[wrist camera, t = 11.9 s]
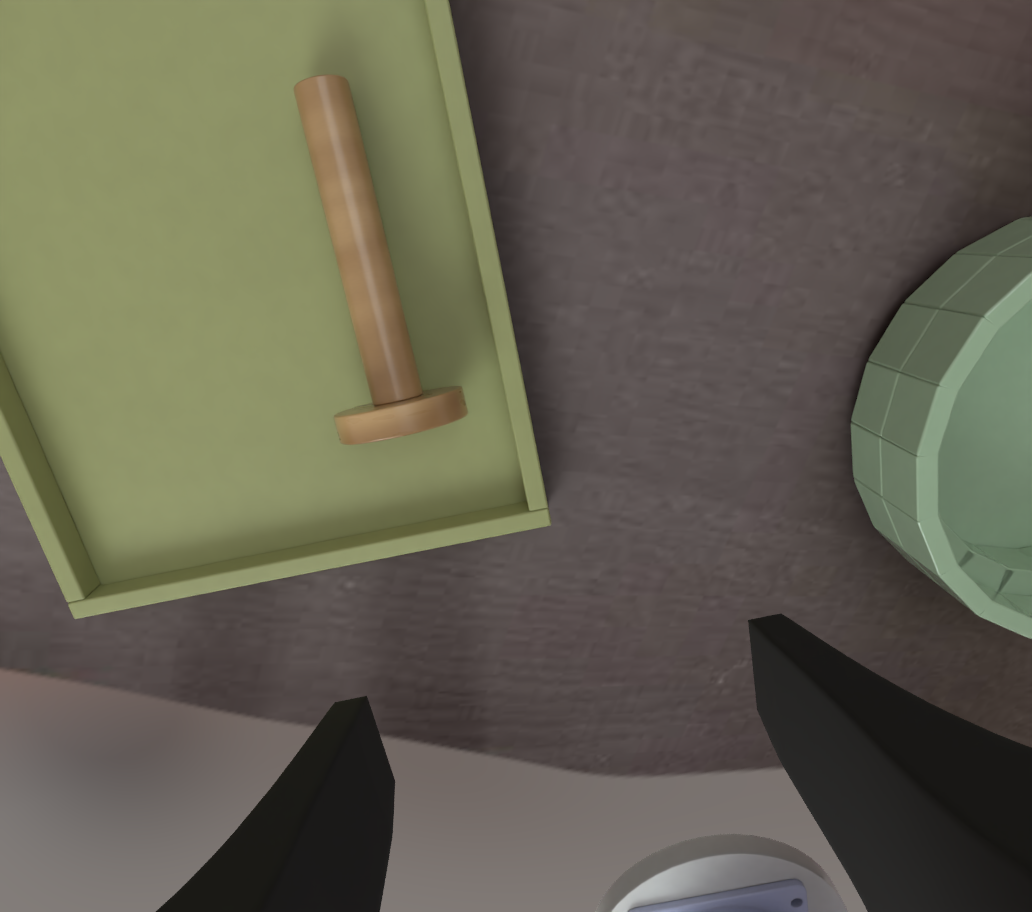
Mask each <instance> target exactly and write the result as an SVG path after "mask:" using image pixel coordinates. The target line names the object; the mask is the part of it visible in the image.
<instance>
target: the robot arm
mask: <svg viewBox="0 0 1032 912" xmlns="http://www.w3.org/2000/svg"><path fill="white" fill-rule="evenodd" d="M748 623H749V633H750V643H751V652H752V662H753V672H754V682H755V692H756V702H757V710H758V712H759V715H760V717H761V719H762V722H763V724H764V726H765V729H766V731H767V733H768V735H769V738H770V740H771V742H772V744H773V747H774V749H775V751H776V753H777V755H778V757H779V760H780V761H781V763H782V765H783V767H784V768H785V770H786V772H787V773H788V775H789V777H790V779H791V780H792V782H793V783H794V785H795V787H796V789H797V790H798V792H799V794H800V795H801V797H802V799H803V800H804V802H805V804H806V805H807V807H808V809H809V810H810V812H811V814H812V815H813V817H814V819H815V820H816V822H817V824H818V825H819V827H820V829H821V830H822V832H823V834H824V835H825V837H826V839H827V840H828V842H829V844H830V845H831V847H832V849H833V850H834V852H835V854H836V855H837V857H838V859H839V860H840V862H841V864H842V865H843V867H844V869H845V870H846V872H847V874H848V875H849V877H850V879H851V881H852V883H853V884H854V886H855V888H856V890H857V892H858V894H859V896H860V897H861V899H862V901H863V903H864V905H865V906H866V909H867V911H868V912H1032V748H1031V747H1028V746H1025V745H1023V744H1020V743H1017V742H1015V741H1012V740H1010V739H1007V738H1005V737H1002V736H1000V735H998V734H995V733H993V732H990V731H988V730H986V729H984V728H982V727H979V726H977V725H975V724H973V723H970V722H968V721H966V720H964V719H962V718H959V717H957V716H955V715H953V714H951V713H948V712H946V711H944V710H942V709H940V708H938V707H936V706H934V705H932V704H930V703H928V702H926V701H925V700H923V699H921V698H919V697H917V696H915V695H913V694H911V693H910V692H908V691H906V690H904V689H902V688H900V687H898V686H897V685H895V684H893V683H891V682H889V681H888V680H886V679H884V678H882V677H881V676H879V675H877V674H875V673H874V672H872V671H870V670H869V669H867V668H865V667H864V666H862V665H860V664H859V663H857V662H856V661H854V660H852V659H851V658H849V657H847V656H846V655H844V654H843V653H841V652H839V651H838V650H836V649H835V648H833V647H832V646H830V645H829V644H827V643H825V642H824V641H822V640H821V639H819V638H818V637H816V636H815V635H813V634H812V633H810V632H809V631H807V630H806V629H804V628H803V627H801V626H800V625H798V624H796V623H795V622H793V621H792V620H790V619H789V618H787V617H786V616H784V615H782V614H777V615H771V616H766V617H761V618H756V619H751V620H748ZM394 790H395V780H394V776H393V773H392V771H391V768H390V764H389V762H388V759H387V755H386V752H385V749H384V746H383V744H382V740H381V737H380V734H379V731H378V728H377V725H376V722H375V719H374V716H373V713H372V710H371V707H370V704H369V701H368V698H367V696H365V697H360V698H355V699H350V700H345V701H340V702H335V703H334V704H333V706H332V707H331V708H330V710H329V711H328V712H327V714H326V715H325V716H324V718H323V719H322V720H321V722H320V723H319V724H318V726H317V727H316V729H315V730H314V731H313V733H312V734H311V736H310V737H309V738H308V740H307V741H306V742H305V744H304V745H303V746H302V748H301V749H300V751H299V752H298V753H297V754H296V756H295V757H294V758H293V760H292V761H291V762H290V764H289V765H288V766H287V768H286V769H285V770H284V772H283V773H282V774H281V776H280V777H279V778H278V780H277V781H276V782H275V784H274V785H273V786H272V787H271V789H270V790H269V791H268V792H267V794H266V795H265V796H264V797H263V798H262V799H261V801H260V802H259V803H258V804H257V806H256V807H255V808H254V809H253V810H252V811H251V813H250V814H249V815H248V816H247V817H246V819H245V820H244V821H243V822H242V824H241V825H240V826H239V827H238V829H237V830H236V831H235V832H234V833H233V834H232V835H231V836H230V838H229V839H228V840H227V841H226V842H225V843H224V844H223V845H222V847H221V848H220V849H219V850H218V851H217V852H216V853H215V854H214V855H213V856H212V858H210V859H209V860H208V862H207V863H205V865H204V866H203V867H202V868H201V869H200V870H199V871H198V872H197V873H196V874H195V875H194V876H193V877H192V878H191V879H190V880H189V881H188V882H187V883H186V884H185V885H184V886H183V887H182V888H181V889H180V890H179V891H178V892H177V893H176V894H175V895H174V896H173V897H172V898H170V899H169V900H168V901H167V902H166V903H165V904H164V905H163V906H162V907H161V908H159V909H158V910H157V911H156V912H380V906H381V901H382V895H383V889H384V883H385V878H386V871H387V865H388V860H389V853H390V846H391V841H392V833H393V816H394V792H395V791H394ZM628 912H808V901H807V891H806V888H805V886H804V884H803V882H802V881H800V880H798V879H788V880H783V881H778V882H772V883H767V884H761V885H756V886H750V887H745V888H739V889H734V890H729V891H723V892H718V893H712V894H707V895H701V896H696V897H690V898H685V899H679V900H674V901H669V902H663V903H658V904H652V905H647V906H641V907H636V908H633V909H631V910H630V911H628Z"/></svg>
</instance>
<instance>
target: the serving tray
mask: <svg viewBox="0 0 1032 912" xmlns="http://www.w3.org/2000/svg"><path fill="white" fill-rule="evenodd" d="M328 74H329V75H339V76H342V77H345V78H346V79H347V80H348V82H349V85H350V89H351V94H352V98H353V102H354V106H355V110H356V115H357V119H358V123H359V127H360V131H361V136H362V140H363V144H364V148H365V152H366V156H367V161H368V165H369V169H370V173H371V177H372V182H373V186H374V190H375V194H376V198H377V203H378V207H379V211H380V215H381V219H382V223H383V228H384V232H385V236H386V240H387V244H388V249H389V253H390V257H391V261H392V265H393V269H394V274H395V278H396V282H397V286H398V290H399V295H400V299H401V303H402V307H403V311H404V316H405V320H406V324H407V328H408V332H409V336H410V341H411V345H412V349H413V353H414V357H415V362H416V366H417V370H418V374H419V378H420V383H421V387H422V391H425V390H430V389H436V388H442V387H449V386H461V387H462V388H463V392H464V396H465V400H466V405H467V409H468V414H467V415H466V416H465V417H464V418H462V419H460V420H457V421H455V422H452V423H449V424H446V425H443V426H440V427H437V428H434V429H430V430H426V431H423V432H419V433H415V434H411V435H407V436H402V437H398V438H393V439H389V440H383V441H378V442H372V443H365V444H357V445H344V444H341V443H340V440H339V437H338V433H337V429H336V425H335V421H334V415H335V414H337V413H339V412H342V411H344V410H347V409H351V408H354V407H357V406H361V405H364V404H368V403H372V399H371V395H370V391H369V387H368V383H367V379H366V375H365V371H364V367H363V363H362V359H361V355H360V351H359V348H358V344H357V340H356V336H355V332H354V328H353V324H352V320H351V316H350V312H349V308H348V304H347V300H346V296H345V292H344V288H343V284H342V280H341V276H340V272H339V268H338V265H337V261H336V257H335V253H334V249H333V245H332V241H331V237H330V233H329V229H328V225H327V221H326V217H325V213H324V209H323V205H322V201H321V197H320V193H319V189H318V185H317V181H316V178H315V174H314V170H313V166H312V162H311V158H310V154H309V150H308V146H307V142H306V138H305V134H304V130H303V126H302V122H301V118H300V114H299V110H298V106H297V102H296V98H295V95H294V86H295V85H296V84H297V83H298V82H300V81H302V80H304V79H306V78H309V77H313V76H317V75H328ZM0 456H1V458H2V460H3V462H4V465H5V467H6V469H7V471H8V474H9V476H10V478H11V480H12V482H13V485H14V487H15V489H16V491H17V493H18V496H19V498H20V500H21V502H22V504H23V507H24V509H25V511H26V513H27V515H28V518H29V520H30V522H31V524H32V526H33V529H34V531H35V533H36V535H37V537H38V540H39V542H40V544H41V546H42V548H43V551H44V553H45V555H46V557H47V559H48V562H49V564H50V566H51V568H52V570H53V573H54V575H55V577H56V579H57V581H58V584H59V586H60V588H61V590H62V592H63V595H64V597H65V599H66V601H67V602H69V603H68V606H69V608H70V610H71V612H72V614H73V617H74V618H75V619H78V618H83V617H88V616H93V615H98V614H103V613H108V612H113V611H118V610H123V609H128V608H133V607H139V606H144V605H149V604H154V603H159V602H164V601H169V600H174V599H179V598H184V597H189V596H194V595H200V594H205V593H210V592H215V591H220V590H225V589H230V588H235V587H240V586H245V585H250V584H255V583H261V582H266V581H271V580H276V579H281V578H286V577H291V576H296V575H301V574H306V573H311V572H316V571H321V570H327V569H332V568H337V567H342V566H347V565H352V564H357V563H362V562H367V561H372V560H377V559H382V558H388V557H393V556H398V555H403V554H408V553H413V552H418V551H423V550H428V549H433V548H438V547H443V546H449V545H454V544H459V543H464V542H469V541H474V540H479V539H484V538H489V537H494V536H499V535H504V534H510V533H515V532H520V531H525V530H530V529H535V528H540V527H545V526H550V525H551V518H550V513H549V508H548V503H547V498H546V493H545V487H544V482H543V477H542V472H541V467H540V462H539V457H538V452H537V447H536V442H535V437H534V431H533V426H532V421H531V416H530V411H529V406H528V401H527V396H526V391H525V386H524V381H523V375H522V370H521V365H520V360H519V355H518V350H517V345H516V340H515V335H514V330H513V325H512V319H511V314H510V309H509V304H508V299H507V294H506V289H505V284H504V279H503V274H502V269H501V263H500V258H499V253H498V248H497V243H496V238H495V233H494V228H493V223H492V218H491V213H490V207H489V202H488V197H487V192H486V187H485V182H484V177H483V172H482V167H481V162H480V157H479V151H478V146H477V141H476V136H475V131H474V126H473V121H472V116H471V111H470V106H469V100H468V95H467V90H466V85H465V80H464V75H463V70H462V65H461V60H460V55H459V50H458V44H457V39H456V34H455V29H454V24H453V19H452V14H451V9H450V4H449V0H0Z"/></svg>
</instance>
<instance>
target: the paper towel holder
mask: <svg viewBox="0 0 1032 912" xmlns="http://www.w3.org/2000/svg"><path fill="white" fill-rule="evenodd" d="M294 95H295V98H296V102H297V106H298V110H299V114H300V118H301V122H302V126H303V130H304V134H305V138H306V142H307V146H308V150H309V154H310V158H311V162H312V166H313V170H314V174H315V178H316V181H317V185H318V189H319V193H320V197H321V201H322V205H323V209H324V213H325V217H326V221H327V225H328V229H329V233H330V237H331V241H332V245H333V249H334V253H335V257H336V261H337V265H338V268H339V272H340V276H341V280H342V284H343V288H344V292H345V296H346V300H347V304H348V308H349V312H350V316H351V320H352V324H353V328H354V332H355V336H356V340H357V344H358V348H359V351H360V355H361V359H362V363H363V367H364V371H365V375H366V379H367V383H368V387H369V391H370V395H371V399H372V403H368V404H364V405H361V406H357V407H354V408H351V409H347V410H344V411H342V412H339V413H337V414H335V415H334V421H335V425H336V429H337V433H338V437H339V440H340V443H341V444H344V445H357V444H365V443H372V442H378V441H383V440H389V439H393V438H398V437H402V436H407V435H411V434H415V433H419V432H423V431H426V430H430V429H434V428H437V427H440V426H443V425H446V424H449V423H452V422H455V421H457V420H460V419H462V418H464V417H465V416H466V415H467V414H468V409H467V405H466V400H465V396H464V392H463V388H462V387H461V386H449V387H442V388H436V389H430V390H425V391H422V387H421V383H420V378H419V374H418V370H417V366H416V362H415V357H414V353H413V349H412V345H411V341H410V336H409V332H408V328H407V324H406V320H405V316H404V311H403V307H402V303H401V299H400V295H399V290H398V286H397V282H396V278H395V274H394V269H393V265H392V261H391V257H390V253H389V249H388V244H387V240H386V236H385V232H384V228H383V223H382V219H381V215H380V211H379V207H378V203H377V198H376V194H375V190H374V186H373V182H372V177H371V173H370V169H369V165H368V161H367V156H366V152H365V148H364V144H363V140H362V136H361V131H360V127H359V123H358V119H357V115H356V110H355V106H354V102H353V98H352V94H351V89H350V85H349V82H348V80H347V79H346V78H345V77H342V76H339V75H329V74H328V75H317V76H313V77H309V78H306V79H304V80H302V81H300V82H298V83H297V84H296V85H295V86H294Z"/></svg>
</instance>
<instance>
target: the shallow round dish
mask: <svg viewBox="0 0 1032 912" xmlns="http://www.w3.org/2000/svg"><path fill="white" fill-rule="evenodd" d="M851 421H852V422H851V442H852V464H853V477H854V481H855V484H856V486H857V488H858V491H859V493H860V496H861V498H862V500H863V503H864V505H865V507H866V510H867V512H868V514H869V517H870V519H871V521H872V524H873V525H874V528H875V529H876V530H877V531H878V532H879V533H880V534H881V535H882V536H883V537H884V538H885V539H886V540H887V541H888V542H889V543H890V544H891V545H892V546H893V547H894V548H895V549H896V550H897V551H898V552H899V553H900V554H901V555H902V556H903V557H904V558H905V559H906V560H907V561H909V562H910V563H911V564H912V565H914V566H915V567H916V568H917V569H919V570H920V571H921V572H922V573H924V574H925V575H926V576H928V577H929V578H930V579H931V580H933V581H934V582H935V583H936V584H938V585H939V586H940V587H942V588H943V589H944V590H946V591H947V592H948V593H949V594H951V595H952V596H953V597H954V598H956V599H957V600H958V601H959V602H961V603H962V604H963V605H965V606H966V607H967V608H968V609H970V610H971V611H972V612H973V613H975V614H976V615H978V616H979V617H981V618H983V619H986V620H988V621H990V622H993V623H995V624H997V625H999V626H1002V627H1004V628H1006V629H1008V630H1011V631H1013V632H1015V633H1018V634H1020V635H1022V636H1024V637H1027V638H1031V639H1032V216H1028V217H1023V218H1020V219H1019V220H1015V221H1013V222H1011V223H1010V224H1008V225H1006V226H1004V227H1002V228H1000V229H998V230H997V231H995V232H993V233H991V234H989V235H987V236H985V237H984V238H982V239H980V240H978V241H976V242H974V243H972V244H970V245H969V246H967V247H965V248H963V249H961V250H959V251H958V252H957V253H956V254H954V255H953V256H952V257H950V258H949V259H948V260H947V261H946V262H945V263H944V264H943V265H942V266H941V267H940V268H939V269H938V270H937V271H936V272H935V273H934V274H932V275H931V276H930V277H929V278H928V279H927V280H926V281H925V282H924V283H923V284H922V285H921V286H920V287H919V288H918V289H917V290H916V291H915V292H913V293H912V294H911V295H910V296H909V297H908V298H907V299H906V300H905V303H903V304H902V305H901V306H900V308H899V310H898V311H897V313H896V315H895V316H894V318H893V320H892V321H891V323H890V324H889V326H888V328H887V329H886V331H885V333H884V334H883V336H882V338H881V339H880V341H879V342H878V344H877V346H876V347H875V349H874V351H873V352H872V354H871V355H870V357H869V362H867V363H866V367H865V370H864V374H863V378H862V381H861V385H860V389H859V392H858V396H857V399H856V403H855V407H854V410H853V414H852V418H851Z"/></svg>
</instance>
